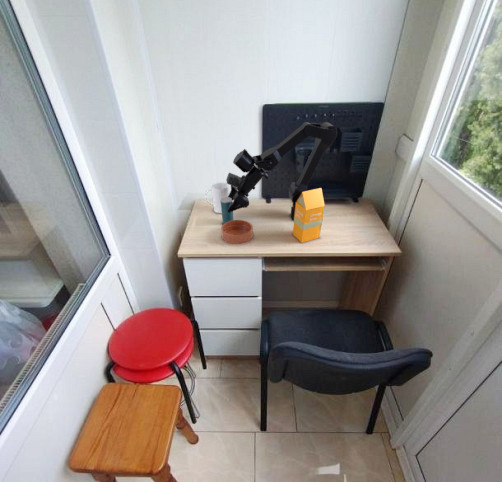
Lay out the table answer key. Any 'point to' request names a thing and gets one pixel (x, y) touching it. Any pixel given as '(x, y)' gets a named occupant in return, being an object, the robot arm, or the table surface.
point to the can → (226, 209)
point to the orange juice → (308, 215)
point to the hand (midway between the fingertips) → (227, 207)
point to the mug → (218, 194)
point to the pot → (237, 231)
